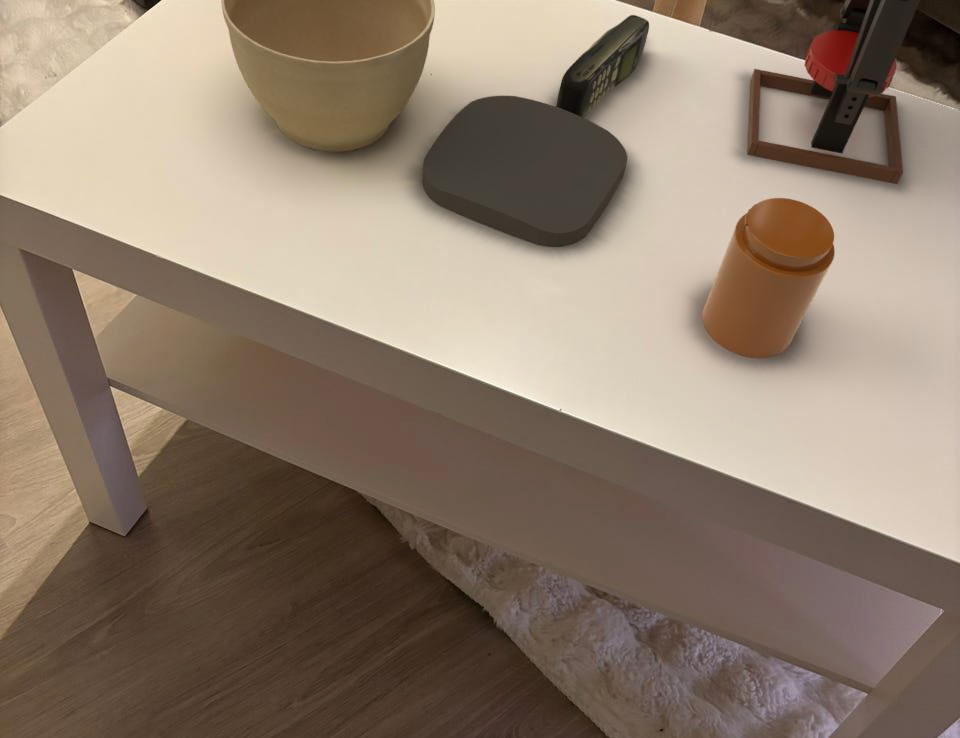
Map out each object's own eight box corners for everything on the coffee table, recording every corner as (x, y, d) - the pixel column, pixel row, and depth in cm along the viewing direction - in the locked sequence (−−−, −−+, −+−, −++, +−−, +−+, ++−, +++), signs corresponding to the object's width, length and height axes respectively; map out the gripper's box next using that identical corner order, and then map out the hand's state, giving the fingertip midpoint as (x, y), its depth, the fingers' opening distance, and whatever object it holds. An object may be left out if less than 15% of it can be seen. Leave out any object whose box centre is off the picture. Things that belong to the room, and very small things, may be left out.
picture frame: (886, 115, 95) (896, 95, 94) (892, 192, 89) (903, 172, 87) (747, 88, 95) (754, 68, 94) (743, 163, 89) (751, 142, 87)
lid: (804, 88, 85) (810, 72, 83) (803, 39, 89) (810, 22, 88) (891, 105, 85) (899, 89, 83) (887, 55, 89) (895, 39, 87)
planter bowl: (448, 90, 91) (458, -31, 82) (396, 205, 82) (400, 83, 73) (276, 49, 92) (266, -76, 83) (205, 157, 83) (186, 31, 74)
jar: (789, 308, 80) (840, 204, 71) (789, 374, 76) (843, 272, 67) (701, 290, 80) (742, 184, 71) (696, 355, 76) (738, 251, 68)
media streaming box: (570, 268, 80) (577, 239, 77) (404, 202, 82) (406, 171, 80) (634, 165, 88) (642, 135, 85) (481, 107, 90) (484, 77, 87)
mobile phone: (586, 88, 85) (665, 6, 92) (555, 74, 86) (635, -6, 93) (576, 138, 89) (652, 56, 96) (547, 125, 90) (624, 44, 97)
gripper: (889, -232, 77) (784, 49, 96) (905, -105, 66) (783, 184, 85) (987, -213, 77) (863, 64, 96) (1019, -83, 66) (872, 201, 85)
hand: (826, 120), depth 91 cm, fingers closed on lid, 7 cm apart
